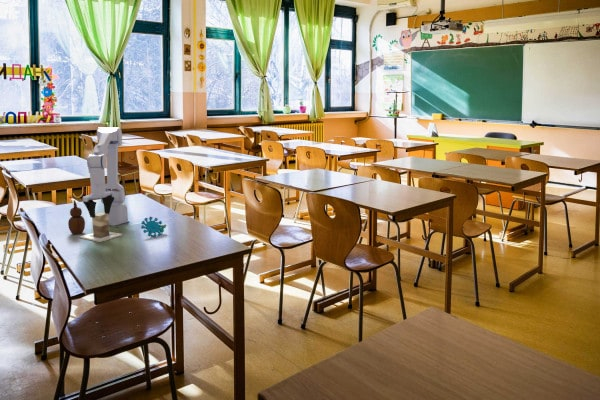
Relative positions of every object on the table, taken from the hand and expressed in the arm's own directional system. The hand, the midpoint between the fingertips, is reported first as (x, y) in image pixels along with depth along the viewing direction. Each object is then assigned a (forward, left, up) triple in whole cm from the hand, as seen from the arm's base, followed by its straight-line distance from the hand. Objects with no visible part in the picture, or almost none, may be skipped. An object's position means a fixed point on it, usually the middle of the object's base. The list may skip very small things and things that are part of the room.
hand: (100, 215), depth 233 cm
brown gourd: (+2, -13, -9) cm, 16 cm away
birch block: (0, 0, -4) cm, 4 cm away
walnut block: (0, 0, -8) cm, 9 cm away
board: (0, 0, -9) cm, 9 cm away
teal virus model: (-14, +17, -10) cm, 24 cm away
